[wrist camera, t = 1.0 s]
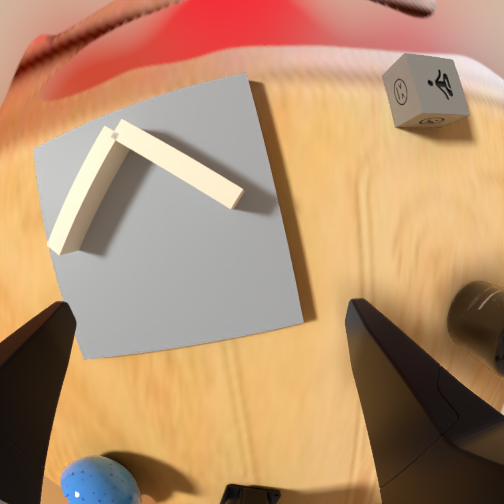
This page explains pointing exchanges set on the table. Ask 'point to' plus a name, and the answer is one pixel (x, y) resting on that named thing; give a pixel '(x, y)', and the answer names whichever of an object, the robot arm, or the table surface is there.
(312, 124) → the table surface
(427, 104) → the dice cube
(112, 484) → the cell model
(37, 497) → the robot arm
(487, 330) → the supplement bottle
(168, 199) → the v cradle
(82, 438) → the table surface
